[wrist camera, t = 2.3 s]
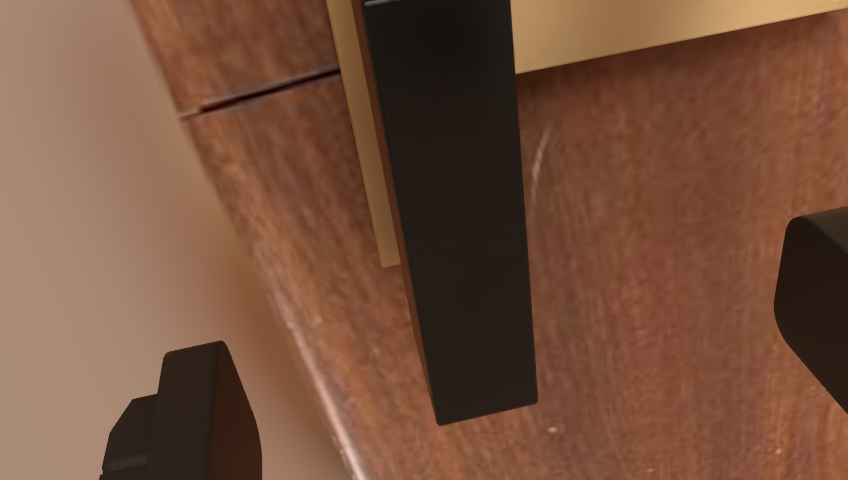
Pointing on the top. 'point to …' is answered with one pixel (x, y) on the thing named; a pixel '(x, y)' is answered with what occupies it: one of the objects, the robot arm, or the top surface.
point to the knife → (455, 193)
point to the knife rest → (363, 128)
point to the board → (635, 24)
